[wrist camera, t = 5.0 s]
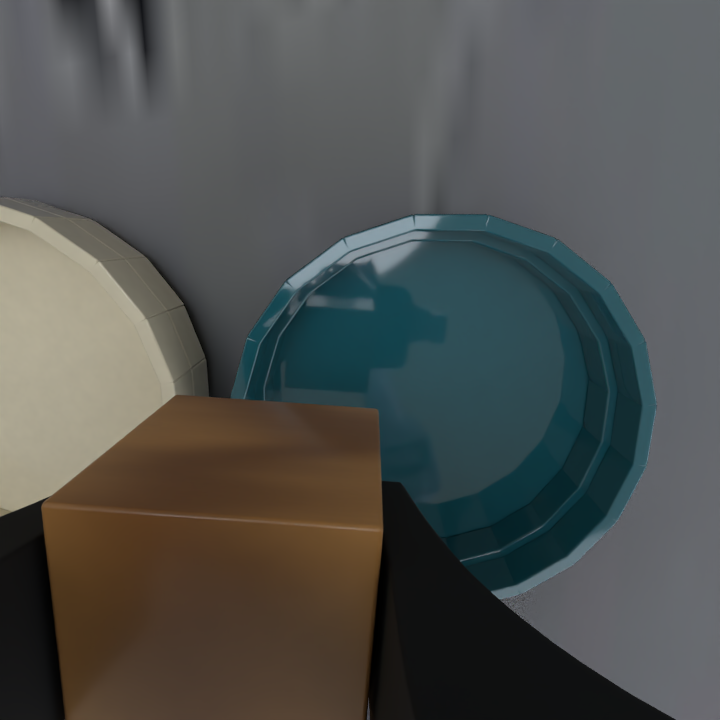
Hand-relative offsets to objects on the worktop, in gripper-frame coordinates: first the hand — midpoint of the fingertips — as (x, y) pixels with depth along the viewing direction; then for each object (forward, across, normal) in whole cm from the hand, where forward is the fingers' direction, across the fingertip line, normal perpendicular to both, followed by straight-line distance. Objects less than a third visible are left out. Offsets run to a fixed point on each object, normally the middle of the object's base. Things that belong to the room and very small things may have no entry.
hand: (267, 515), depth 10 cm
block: (+1, 0, 0) cm, 1 cm away
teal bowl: (+8, -4, 0) cm, 9 cm away
